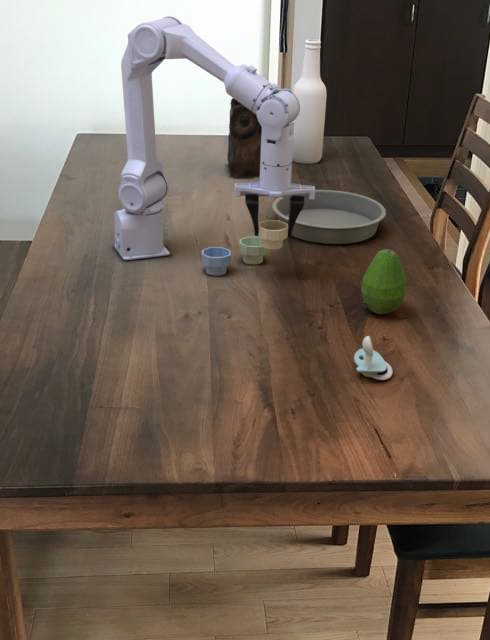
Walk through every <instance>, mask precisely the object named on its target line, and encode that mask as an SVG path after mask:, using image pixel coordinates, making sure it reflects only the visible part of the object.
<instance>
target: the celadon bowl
mask: <svg viewBox="0 0 490 640" xmlns="http://www.w3.org/2000/svg"><path fill="white" fill-rule="evenodd" d="M238 246H239V249H238V250H239V253H240V254H241V255H242V261H243V262H244V263H245V264H248V265H259V264H262V263H263V262H264V256H265V255H267V253H268V250H269V249H266V248H264V247H262V239H261V238H260V237H259V236H245V237H242V238H240V239H239V245H238Z"/></svg>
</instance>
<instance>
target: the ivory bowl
mask: <svg viewBox="0 0 490 640" xmlns="http://www.w3.org/2000/svg"><path fill="white" fill-rule="evenodd" d="M258 229H259V233H258V236H257V237H260V238H261V239H262V247H264V248H266V249H268V250H280V249H282V248H283V247H284V240H286V239H287V238H289V237H288V224H287V223H285V222H282V221H279V219H266V220H262V221H260V222H259V221H258Z"/></svg>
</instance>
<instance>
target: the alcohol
mask: <svg viewBox="0 0 490 640" xmlns="http://www.w3.org/2000/svg"><path fill="white" fill-rule="evenodd" d="M304 43H305V44H304V55H303V63H302V70H301V75H300V78H298V80H297V81H296V83H295V84H294V85H293V90H292V92H293V94H295V95H296V97H297V98H298V100H299V103H300V112H299V115H298V116H297V118H296V119H295V120H294V121H293V122H294V140H293V157H292V162H294V163H298V164H304V165H308V164H309V165H312V164H316V163H318V162H320V161H321V160H322V158H323V147H324V135H325V134H324V133H325V122H326V121H325V120H326V110H327V109H326V108H327V107H326V106H327V97H328V95H327V87H326V85H325V83H324V82H323V81H322V77H321V47H322V46H321V44H322V41H321V40H320V39H315V38H308V39H306V40H305V41H304ZM293 122H291V123H293ZM291 123H290V124H291Z"/></svg>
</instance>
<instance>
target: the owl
mask: <svg viewBox="0 0 490 640" xmlns="http://www.w3.org/2000/svg"><path fill="white" fill-rule="evenodd" d="M229 104H230V109H229V124H228V131H229V132H228V135H227V137H228V138H227V141H228V143H227V145H228V146H227V166H228V173H229V176H230V177H231V178H233V179H253V178H254V177H260V157H261V136H262V127H261V125H260V123H259V121H258V119H257V115H256V114H255V113H253V112H252V111H251V110H249V109H248V108H246V107H245V106H244V105H242V104H241V103H240V102H238V101H237V100H235V99H234V98H233V97H231V99H230V103H229Z"/></svg>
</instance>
